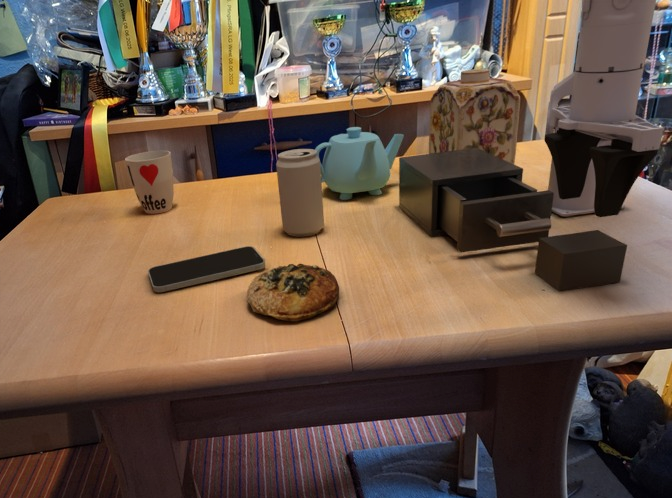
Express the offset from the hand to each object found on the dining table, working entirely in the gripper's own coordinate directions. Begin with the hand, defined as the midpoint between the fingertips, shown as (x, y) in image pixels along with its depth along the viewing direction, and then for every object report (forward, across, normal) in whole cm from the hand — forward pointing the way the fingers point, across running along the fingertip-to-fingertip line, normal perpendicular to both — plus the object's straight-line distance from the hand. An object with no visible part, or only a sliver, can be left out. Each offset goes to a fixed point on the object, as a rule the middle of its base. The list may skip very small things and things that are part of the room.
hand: (587, 206), depth 60 cm
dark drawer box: (+7, -13, -4) cm, 16 cm away
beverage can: (+9, -27, -27) cm, 39 cm away
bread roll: (+9, -4, -32) cm, 33 cm away
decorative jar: (+9, -47, +8) cm, 48 cm away
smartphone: (+8, -16, -42) cm, 46 cm away
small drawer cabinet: (+8, -25, -4) cm, 27 cm away
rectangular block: (+8, 0, 0) cm, 8 cm away
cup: (+9, -49, -51) cm, 71 cm away
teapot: (+9, -44, -14) cm, 47 cm away
